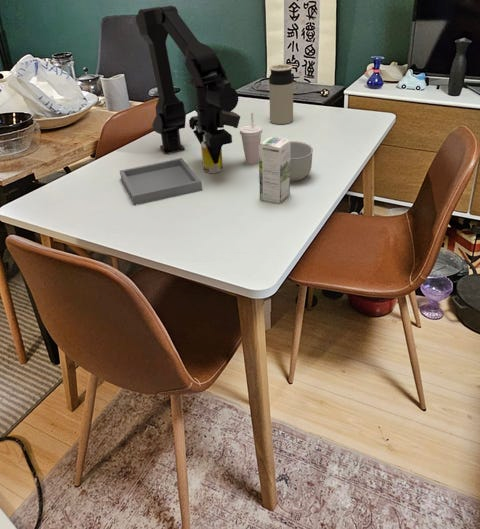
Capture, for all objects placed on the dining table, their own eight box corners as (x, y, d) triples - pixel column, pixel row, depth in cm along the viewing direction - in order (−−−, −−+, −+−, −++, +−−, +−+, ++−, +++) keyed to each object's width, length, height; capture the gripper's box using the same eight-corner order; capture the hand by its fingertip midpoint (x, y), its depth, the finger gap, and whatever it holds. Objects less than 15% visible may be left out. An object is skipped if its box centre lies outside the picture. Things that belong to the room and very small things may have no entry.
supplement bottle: (224, 172, 137) (222, 136, 131) (205, 175, 136) (201, 139, 131) (221, 164, 142) (218, 130, 136) (202, 167, 141) (198, 132, 135)
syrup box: (270, 190, 126) (268, 135, 118) (291, 194, 123) (290, 138, 115) (259, 200, 122) (257, 143, 114) (280, 204, 119) (280, 147, 111)
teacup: (315, 170, 135) (316, 142, 130) (307, 187, 126) (307, 157, 122) (267, 166, 139) (266, 139, 134) (255, 182, 131) (254, 154, 126)
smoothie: (261, 166, 139) (259, 117, 131) (239, 165, 140) (236, 117, 133) (265, 157, 144) (263, 109, 136) (243, 157, 146) (240, 109, 138)
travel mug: (293, 124, 167) (294, 68, 157) (270, 125, 167) (269, 70, 157) (292, 116, 174) (292, 63, 164) (269, 118, 174) (268, 64, 164)
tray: (121, 178, 138) (119, 170, 136) (182, 166, 143) (181, 158, 141) (134, 205, 124) (132, 196, 122) (202, 190, 129) (201, 181, 127)
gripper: (249, 107, 124) (251, 165, 132) (223, 90, 138) (227, 144, 147) (207, 115, 120) (213, 174, 129) (185, 96, 135) (192, 151, 144)
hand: (212, 159), depth 137 cm, fingers closed on supplement bottle, 5 cm apart
